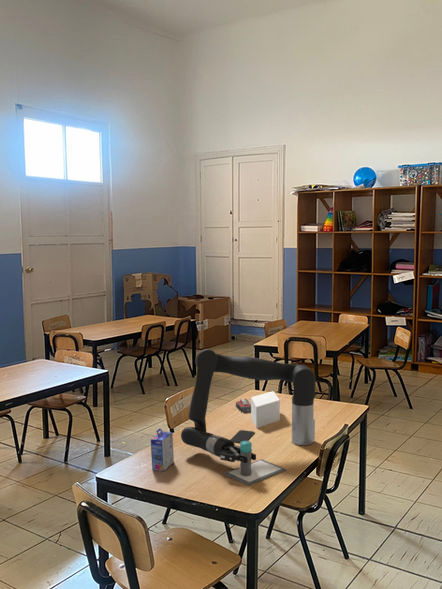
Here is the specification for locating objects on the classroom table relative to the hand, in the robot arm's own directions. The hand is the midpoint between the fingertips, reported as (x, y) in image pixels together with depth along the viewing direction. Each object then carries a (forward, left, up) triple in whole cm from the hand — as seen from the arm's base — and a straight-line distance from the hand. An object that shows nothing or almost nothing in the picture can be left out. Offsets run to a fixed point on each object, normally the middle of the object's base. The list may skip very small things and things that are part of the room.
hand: (251, 459), depth 213 cm
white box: (-54, -45, -8) cm, 70 cm away
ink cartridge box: (+17, -32, -8) cm, 37 cm away
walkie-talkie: (-60, -65, -8) cm, 89 cm away
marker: (0, -3, -7) cm, 7 cm away
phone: (-28, -34, -8) cm, 44 cm away
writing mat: (-5, -3, -7) cm, 9 cm away
